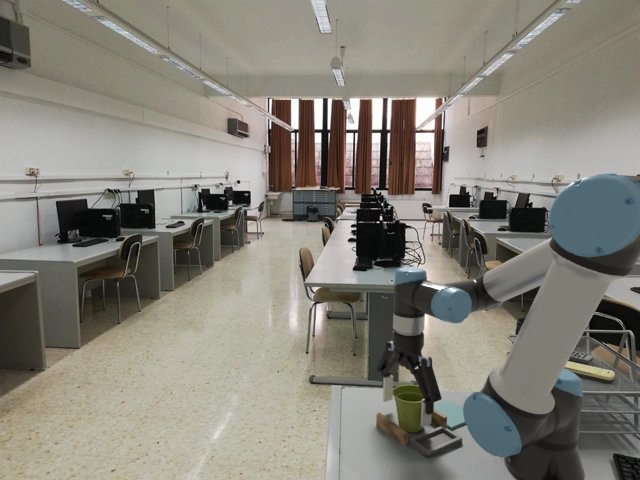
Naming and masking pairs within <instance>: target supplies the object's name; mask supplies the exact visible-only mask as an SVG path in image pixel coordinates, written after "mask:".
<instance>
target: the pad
mask: <svg viewBox="0 0 640 480" xmlns="http://www.w3.org/2000/svg"><path fill="white" fill-rule="evenodd" d="M463 407H464V406H463ZM463 407H462V406H460V405H459V404H457V403H455V402H453V401H441V402H437V403H434V409H435V410H437V411H438V412H440V413H442V414H443V415H445V416H447V429H449V430H451V431H452V430H453V429H456V428H458V427H461V426H464V425H467V424H466V422H465V420H464V415H463Z"/></svg>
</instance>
